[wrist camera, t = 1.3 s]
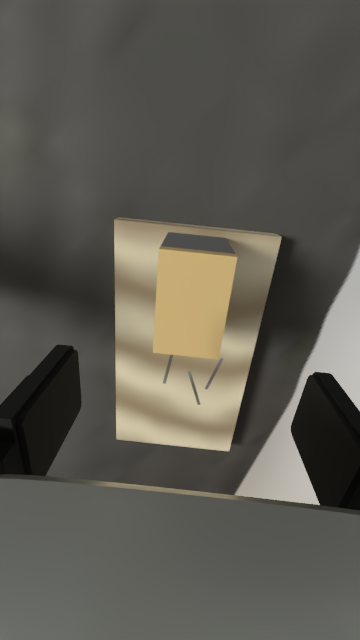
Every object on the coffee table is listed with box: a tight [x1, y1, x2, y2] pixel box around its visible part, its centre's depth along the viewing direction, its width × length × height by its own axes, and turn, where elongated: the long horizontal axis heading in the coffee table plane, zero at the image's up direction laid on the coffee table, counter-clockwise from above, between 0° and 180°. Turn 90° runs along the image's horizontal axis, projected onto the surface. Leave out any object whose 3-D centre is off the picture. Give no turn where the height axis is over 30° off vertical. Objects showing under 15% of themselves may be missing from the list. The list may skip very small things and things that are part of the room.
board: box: [114, 217, 282, 451], centre depth 27 cm, size 24×13×2 cm, turn 175°
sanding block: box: [153, 232, 237, 360], centre depth 20 cm, size 7×4×6 cm, turn 175°
